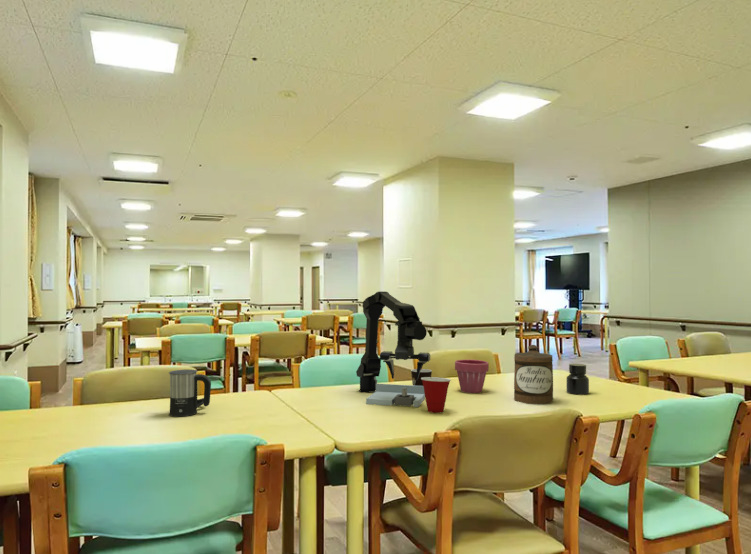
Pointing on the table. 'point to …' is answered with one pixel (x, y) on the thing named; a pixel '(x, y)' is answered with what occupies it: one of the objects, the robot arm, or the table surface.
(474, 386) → the plant pot
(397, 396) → the square hollow frame
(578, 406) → the table surface
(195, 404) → the milk frother
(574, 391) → the ink bottle
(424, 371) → the coffee mug
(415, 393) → the grey walled base plate
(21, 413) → the table surface
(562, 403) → the table surface
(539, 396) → the wooden container
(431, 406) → the plastic cup
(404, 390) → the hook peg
